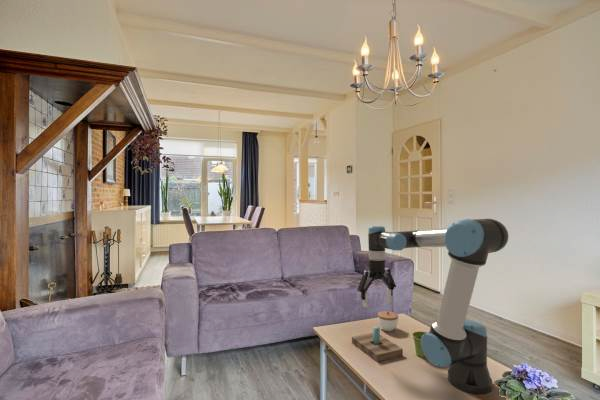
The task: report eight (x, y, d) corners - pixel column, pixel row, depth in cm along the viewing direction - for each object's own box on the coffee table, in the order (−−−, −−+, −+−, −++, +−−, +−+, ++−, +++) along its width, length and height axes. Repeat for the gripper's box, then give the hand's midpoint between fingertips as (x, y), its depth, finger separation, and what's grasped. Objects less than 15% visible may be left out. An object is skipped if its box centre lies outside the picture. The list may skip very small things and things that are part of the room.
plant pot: (436, 360, 141) (436, 340, 141) (413, 358, 143) (413, 339, 143) (432, 350, 150) (432, 332, 150) (410, 349, 152) (410, 330, 152)
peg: (381, 349, 152) (380, 328, 152) (375, 351, 150) (375, 329, 150) (376, 347, 154) (376, 326, 154) (371, 348, 153) (371, 327, 153)
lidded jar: (399, 333, 170) (399, 315, 170) (378, 332, 171) (378, 314, 171) (396, 325, 180) (396, 308, 180) (376, 324, 182) (376, 307, 182)
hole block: (402, 355, 146) (402, 348, 146) (376, 361, 140) (376, 354, 140) (375, 338, 164) (375, 332, 164) (351, 342, 159) (351, 336, 159)
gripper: (393, 256, 161) (393, 299, 161) (349, 260, 151) (349, 305, 151) (403, 258, 154) (403, 303, 154) (358, 262, 144) (359, 310, 144)
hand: (377, 304), depth 152 cm, fingers open, 13 cm apart
